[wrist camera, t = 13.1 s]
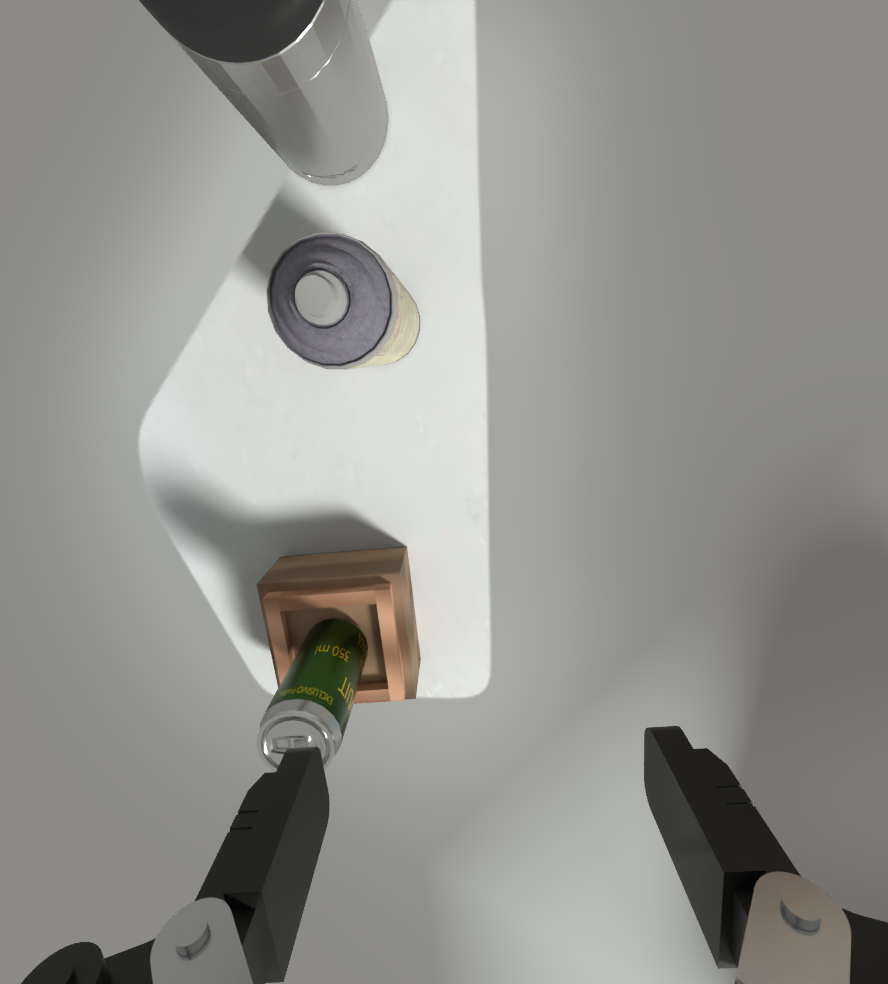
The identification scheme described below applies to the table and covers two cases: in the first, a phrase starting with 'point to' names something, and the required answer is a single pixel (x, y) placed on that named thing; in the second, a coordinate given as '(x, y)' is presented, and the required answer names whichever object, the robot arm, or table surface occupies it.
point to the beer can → (315, 693)
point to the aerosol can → (340, 304)
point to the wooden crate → (347, 613)
